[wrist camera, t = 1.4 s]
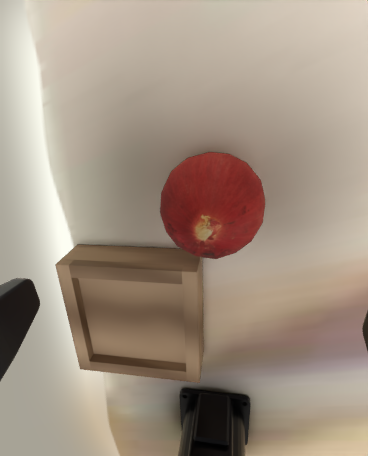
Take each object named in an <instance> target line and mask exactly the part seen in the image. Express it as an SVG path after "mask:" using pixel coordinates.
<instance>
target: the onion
mask: <svg viewBox="0 0 368 456" xmlns="http://www.w3.org/2000/svg"><path fill="white" fill-rule="evenodd" d="M264 209H265V196H264V192H263V187H262V183H261V180H260V179H259V177H258V176H257V175H256V174H255V172H254V171H253V170H252V169H251V168H250V166H249V165H248V164H247V163H246V162H244V161H242V160H240V159H238V158H236V157H234V156H232V155H230V154H225V153H215V152H208V153H204V154H201V155H197V156H193V157H189V158H187V159H186V160H184V161H183V162H182V163H181V164H180V165H178V166H177V167H176V168H175V169H173V170H172V171H171V173H170V175H169V177H168V179H167V181H166V184H165V186H164V188H163V190H162V192H161V206H160V213H161V217H162V220H163V223H164V226H165V230H166V232H167V233H168V235H169V236H170V237H171V239H172V240H173V241H174V242H175V244H176V245H177V246H178V247H180V248H182V249H183V250H185V251H187V252H189V253H191V254H192V255H194V256H198V257H205V258H212V259H218V258H221V257H224V256H227V255H230V254H233V253H236V252H237V251H239V250H240V249H241V248H243V247H244V246H245V245H247V244H248V243H250V242H251V241H252V239H253V238H254V236H255V234H256V233H257V231H258V230H259V228H260V226H261V225H262V223H263V216H264Z"/></svg>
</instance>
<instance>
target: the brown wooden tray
mask: <svg viewBox="0 0 368 456" xmlns="http://www.w3.org/2000/svg"><path fill="white" fill-rule="evenodd" d="M56 269H57V273H58V278H59V282H60V286H61V290H62V294H63V299H64V303H65V307H66V311H67V316H68V320H69V324H70V328H71V332H72V337H73V341H74V345H75V349H76V353H77V357H78V362H79V366H80V369H84V370H92V371H101V372H110V373H119V374H127V375H136V376H145V377H154V378H162V379H171V380H180V381H189V382H197V383H200V375H201V367H202V359H203V352H204V346H203V277H202V257H198V256H194V255H192V254H191V253H189V252H187V251H185V250H183V249H175V248H150V247H126V246H101V245H77V246H75V247H74V248H73V249H72V250H71V251H70V252H69V253H68V254H67V255H66V256H64V257H63V258H62V259H61V260H60V261H59V262H58V263H57V264H56Z"/></svg>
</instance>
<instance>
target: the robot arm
mask: <svg viewBox="0 0 368 456" xmlns="http://www.w3.org/2000/svg"><path fill="white" fill-rule="evenodd" d="M39 306H40V300H39V297H38V295H37V292H36V289H35V286H34V284H33V282H32V281H31V280H30V279H25V278H16V279H13V280H11V281H9V282H7V283H4V284H2V285H0V381H1V379H2V378H3V376H4V374H5V373H6V371H7V369H8V368H9V366H10V364H11V363H12V361H13V359H14V358H15V356H16V354H17V352H18V350H19V348H20V346H21V344H22V342H23V340H24V338H25V336H26V334H27V332H28V330H29V328H30V326H31V323H32V322H33V320H34V318H35V315H36V314H37V311H38V309H39ZM363 336H364V340H365V343H366V347H367V351H368V311H367V314H366V317H365V320H364V323H363ZM180 409H181V425H182V436H181V442H180V448H179V454H178V456H245V445H247V442H248V429H249V415H250V399H249V397H247V396H241V395H232V394H224V393H215V392H207V391H198V390H190V389H182V390H181V392H180Z"/></svg>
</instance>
